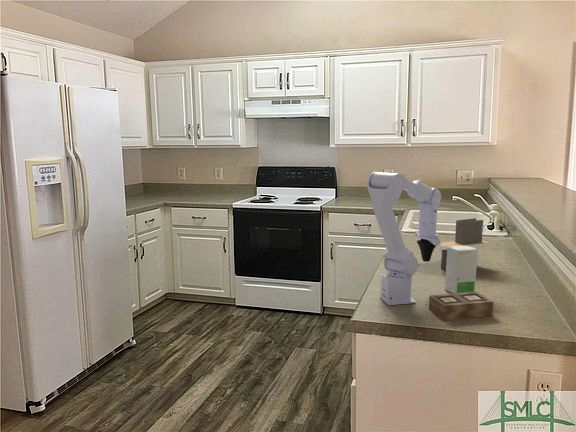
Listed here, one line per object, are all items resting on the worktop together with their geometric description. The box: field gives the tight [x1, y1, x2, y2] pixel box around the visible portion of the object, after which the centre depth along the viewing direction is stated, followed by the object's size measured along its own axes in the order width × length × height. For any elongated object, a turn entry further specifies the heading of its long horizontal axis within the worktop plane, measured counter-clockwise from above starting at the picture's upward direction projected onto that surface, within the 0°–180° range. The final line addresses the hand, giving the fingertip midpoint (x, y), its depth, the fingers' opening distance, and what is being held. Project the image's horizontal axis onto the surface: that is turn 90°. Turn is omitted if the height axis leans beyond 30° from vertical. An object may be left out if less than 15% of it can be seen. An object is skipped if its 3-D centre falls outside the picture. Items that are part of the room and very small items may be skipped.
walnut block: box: [428, 291, 494, 321], centre depth 146 cm, size 16×9×5 cm, turn 101°
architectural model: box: [434, 217, 490, 270], centre depth 192 cm, size 38×25×20 cm, turn 115°
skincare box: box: [444, 246, 479, 294], centre depth 164 cm, size 8×7×16 cm
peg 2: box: [464, 295, 480, 300], centre depth 147 cm, size 4×4×4 cm
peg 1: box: [440, 297, 456, 302], centre depth 145 cm, size 4×4×4 cm
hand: (426, 260), depth 166 cm, fingers closed
